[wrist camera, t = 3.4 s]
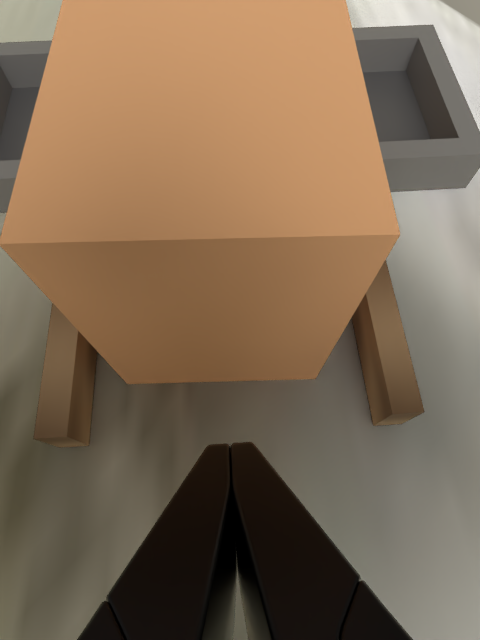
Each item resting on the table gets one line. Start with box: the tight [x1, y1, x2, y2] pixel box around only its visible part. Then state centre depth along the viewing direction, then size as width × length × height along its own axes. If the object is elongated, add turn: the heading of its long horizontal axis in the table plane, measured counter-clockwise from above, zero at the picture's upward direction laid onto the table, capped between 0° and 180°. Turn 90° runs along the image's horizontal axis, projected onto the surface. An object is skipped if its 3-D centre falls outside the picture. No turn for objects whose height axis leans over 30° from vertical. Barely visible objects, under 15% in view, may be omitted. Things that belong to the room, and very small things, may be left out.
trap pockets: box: [0, 25, 480, 212], centre depth 20 cm, size 9×23×2 cm, turn 94°
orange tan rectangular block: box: [0, 0, 400, 384], centre depth 14 cm, size 15×7×9 cm, turn 2°
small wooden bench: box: [33, 260, 424, 448], centre depth 18 cm, size 27×12×4 cm, turn 4°
